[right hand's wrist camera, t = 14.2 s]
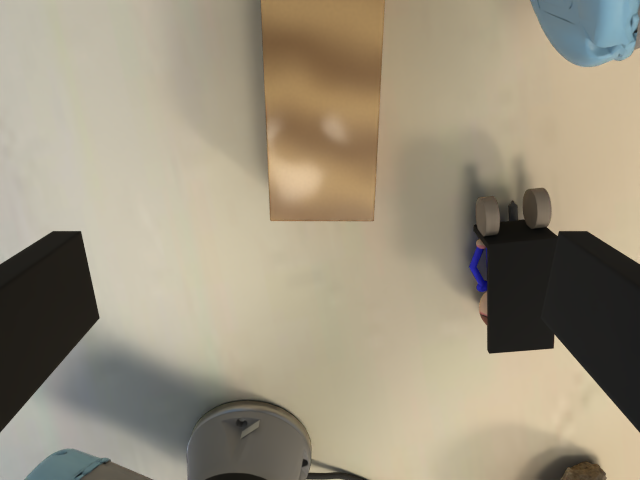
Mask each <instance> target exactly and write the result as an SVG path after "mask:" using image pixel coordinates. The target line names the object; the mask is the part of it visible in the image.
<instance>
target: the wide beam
mask: <svg viewBox="0 0 640 480" xmlns="http://www.w3.org/2000/svg"><path fill="white" fill-rule="evenodd" d="M384 6H385V0H261V19H262V42H263V65H264V88H265V111H266V134H267V157H268V180H269V203H270V220H271V221H374V205H375V185H376V165H377V145H378V125H379V105H380V85H381V65H382V45H383V26H384Z"/></svg>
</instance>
